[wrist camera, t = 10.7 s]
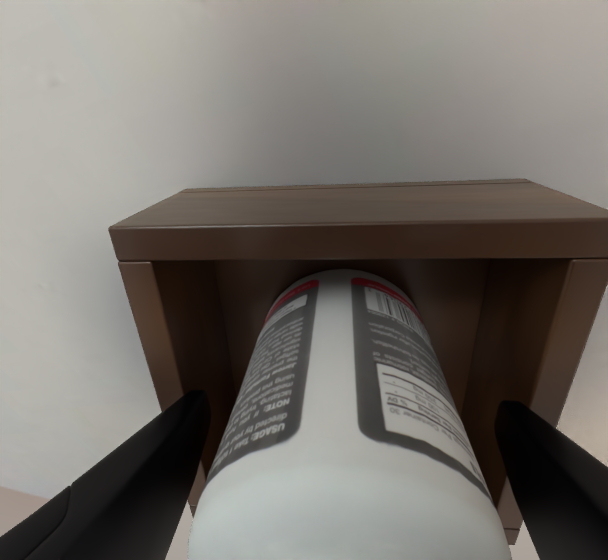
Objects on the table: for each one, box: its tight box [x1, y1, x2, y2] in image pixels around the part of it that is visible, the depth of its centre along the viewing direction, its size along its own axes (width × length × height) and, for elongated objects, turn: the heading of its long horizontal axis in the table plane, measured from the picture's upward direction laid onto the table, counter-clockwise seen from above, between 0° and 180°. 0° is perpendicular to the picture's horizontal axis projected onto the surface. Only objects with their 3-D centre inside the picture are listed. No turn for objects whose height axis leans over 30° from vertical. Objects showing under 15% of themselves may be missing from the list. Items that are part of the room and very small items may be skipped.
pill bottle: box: [188, 269, 512, 560], centre depth 8 cm, size 5×5×10 cm
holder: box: [109, 179, 608, 545], centre depth 11 cm, size 10×10×4 cm
